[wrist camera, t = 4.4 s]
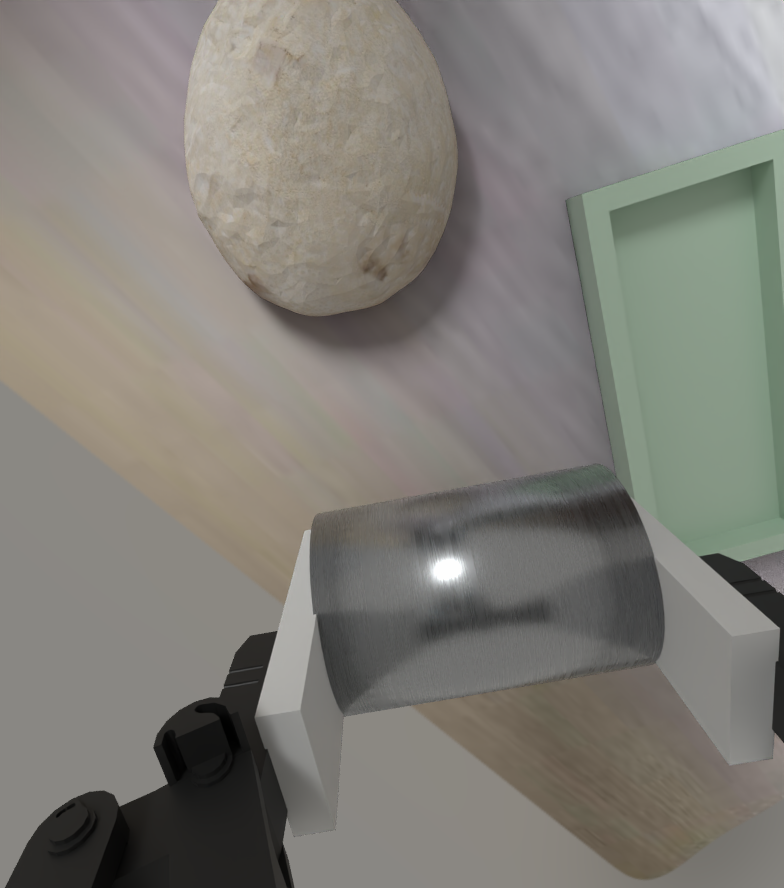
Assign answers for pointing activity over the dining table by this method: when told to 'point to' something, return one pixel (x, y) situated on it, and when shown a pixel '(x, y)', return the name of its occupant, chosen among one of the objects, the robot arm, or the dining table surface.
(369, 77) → the stone
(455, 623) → the roller
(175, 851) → the robot arm
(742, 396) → the tray
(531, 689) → the dining table surface
